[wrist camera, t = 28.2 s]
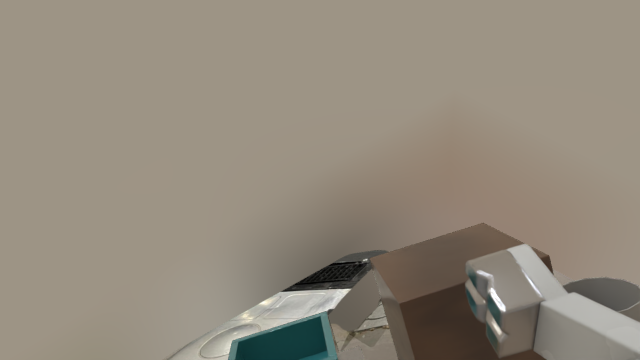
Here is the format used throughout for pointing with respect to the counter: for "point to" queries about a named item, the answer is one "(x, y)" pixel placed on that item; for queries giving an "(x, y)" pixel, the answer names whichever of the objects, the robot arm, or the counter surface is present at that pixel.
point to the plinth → (440, 296)
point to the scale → (352, 354)
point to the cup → (610, 294)
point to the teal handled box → (290, 342)
